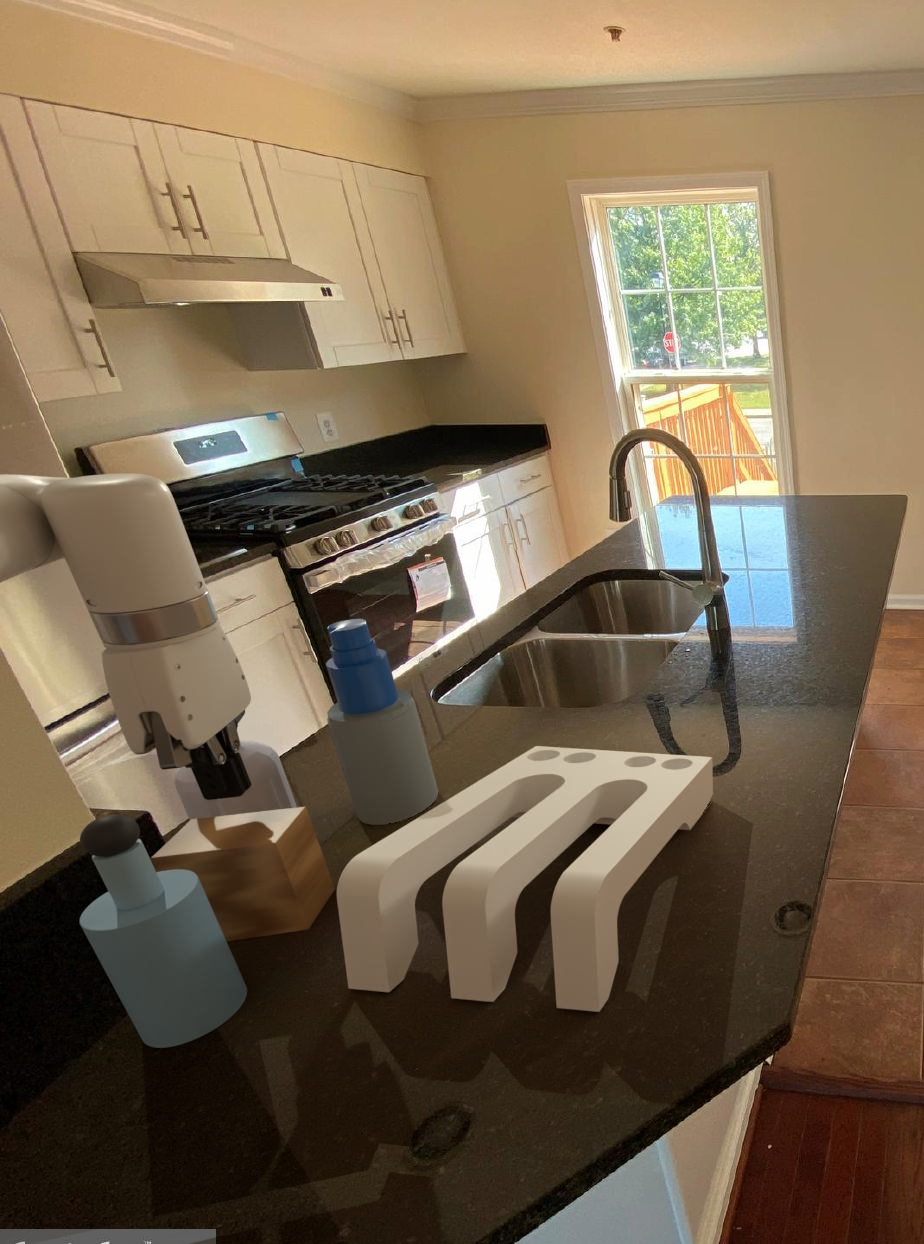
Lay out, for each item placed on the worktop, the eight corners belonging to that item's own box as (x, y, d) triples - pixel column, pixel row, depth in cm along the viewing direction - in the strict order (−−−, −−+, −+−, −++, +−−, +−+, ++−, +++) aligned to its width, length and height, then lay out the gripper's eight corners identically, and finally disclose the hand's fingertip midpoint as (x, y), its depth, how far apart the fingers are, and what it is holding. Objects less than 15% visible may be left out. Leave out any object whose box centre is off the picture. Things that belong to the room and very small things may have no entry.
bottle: (237, 1047, 63) (71, 969, 48) (142, 1063, 62) (-59, 988, 47) (288, 905, 72) (160, 801, 57) (205, 916, 70) (52, 812, 55)
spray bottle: (426, 775, 98) (380, 605, 88) (448, 803, 92) (402, 624, 83) (349, 803, 92) (290, 623, 82) (368, 834, 86) (308, 645, 77)
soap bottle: (316, 831, 87) (251, 646, 77) (221, 874, 80) (137, 675, 70) (284, 806, 91) (219, 628, 82) (192, 845, 84) (109, 654, 75)
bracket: (712, 757, 93) (593, 890, 61) (713, 842, 95) (599, 1011, 64) (536, 746, 95) (333, 869, 63) (541, 829, 97) (348, 988, 66)
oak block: (191, 947, 70) (149, 858, 66) (227, 903, 75) (190, 819, 71) (308, 929, 72) (275, 842, 68) (335, 889, 78) (306, 806, 74)
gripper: (163, 594, 68) (228, 757, 75) (34, 656, 55) (128, 848, 62) (254, 589, 70) (310, 749, 77) (151, 648, 57) (229, 836, 64)
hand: (228, 793), depth 70 cm, fingers closed
